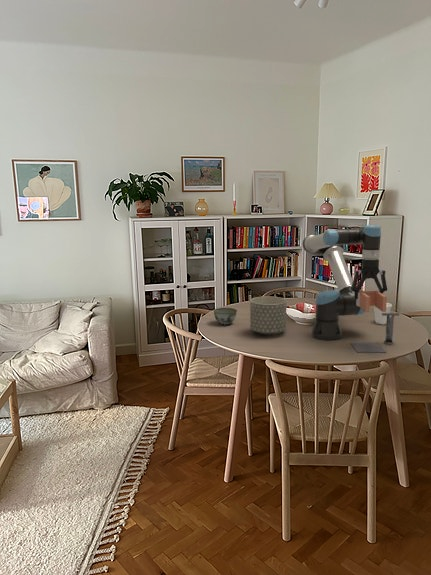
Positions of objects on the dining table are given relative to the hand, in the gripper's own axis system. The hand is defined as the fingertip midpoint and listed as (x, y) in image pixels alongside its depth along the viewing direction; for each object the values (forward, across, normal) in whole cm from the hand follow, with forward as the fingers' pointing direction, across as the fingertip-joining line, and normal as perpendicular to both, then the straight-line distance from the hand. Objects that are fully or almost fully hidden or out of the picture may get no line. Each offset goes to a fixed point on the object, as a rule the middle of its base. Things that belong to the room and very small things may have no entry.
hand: (368, 305), depth 200 cm
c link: (0, 0, -5) cm, 5 cm away
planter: (+20, -46, +19) cm, 53 cm away
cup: (+20, +20, +36) cm, 46 cm away
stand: (+19, +12, +2) cm, 23 cm away
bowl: (+20, -69, +38) cm, 81 cm away
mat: (+19, -1, -5) cm, 20 cm away
